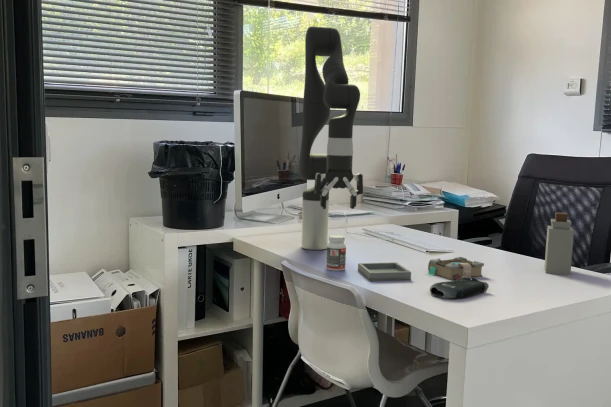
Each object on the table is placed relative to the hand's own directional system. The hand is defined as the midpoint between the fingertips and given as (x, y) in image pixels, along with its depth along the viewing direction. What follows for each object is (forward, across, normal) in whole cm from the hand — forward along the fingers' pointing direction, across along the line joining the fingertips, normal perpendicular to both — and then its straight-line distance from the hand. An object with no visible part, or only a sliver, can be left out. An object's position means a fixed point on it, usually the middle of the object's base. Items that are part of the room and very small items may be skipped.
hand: (338, 208), depth 170 cm
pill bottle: (+19, 0, 0) cm, 19 cm away
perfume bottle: (+18, -67, +10) cm, 70 cm away
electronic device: (+18, -25, +29) cm, 42 cm away
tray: (+18, -12, +9) cm, 23 cm away
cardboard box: (+19, -33, +11) cm, 39 cm away
